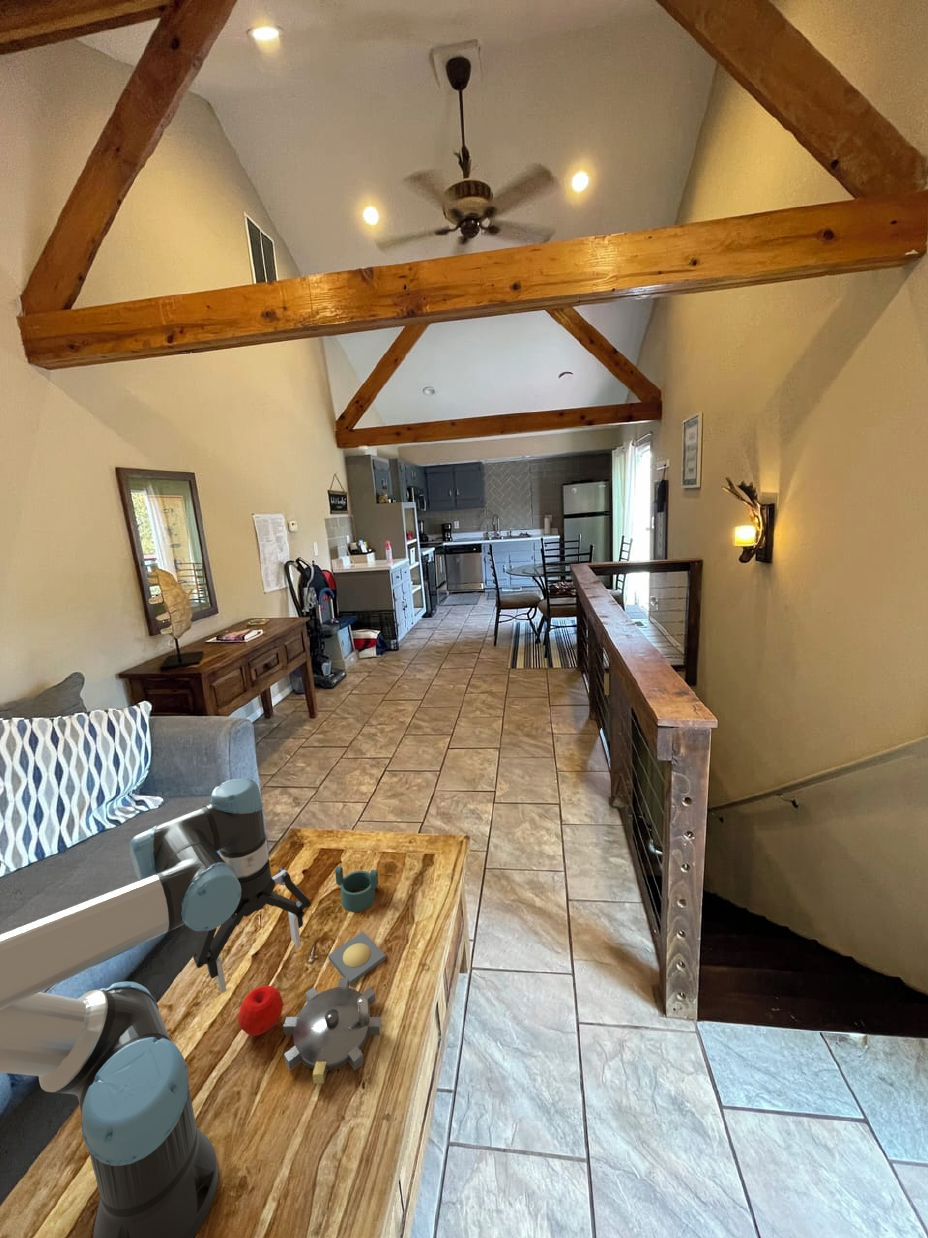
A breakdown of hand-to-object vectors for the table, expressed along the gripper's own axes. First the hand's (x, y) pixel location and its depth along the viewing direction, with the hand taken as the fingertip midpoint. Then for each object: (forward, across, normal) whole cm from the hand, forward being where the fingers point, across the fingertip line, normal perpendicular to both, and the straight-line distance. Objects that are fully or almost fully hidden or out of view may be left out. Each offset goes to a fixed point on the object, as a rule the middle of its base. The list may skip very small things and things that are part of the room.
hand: (260, 964), depth 94 cm
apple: (+15, -1, +1) cm, 15 cm away
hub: (+15, +8, -9) cm, 20 cm away
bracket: (+16, +29, +18) cm, 38 cm away
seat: (+15, +20, +2) cm, 25 cm away
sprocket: (+15, +8, -9) cm, 20 cm away
